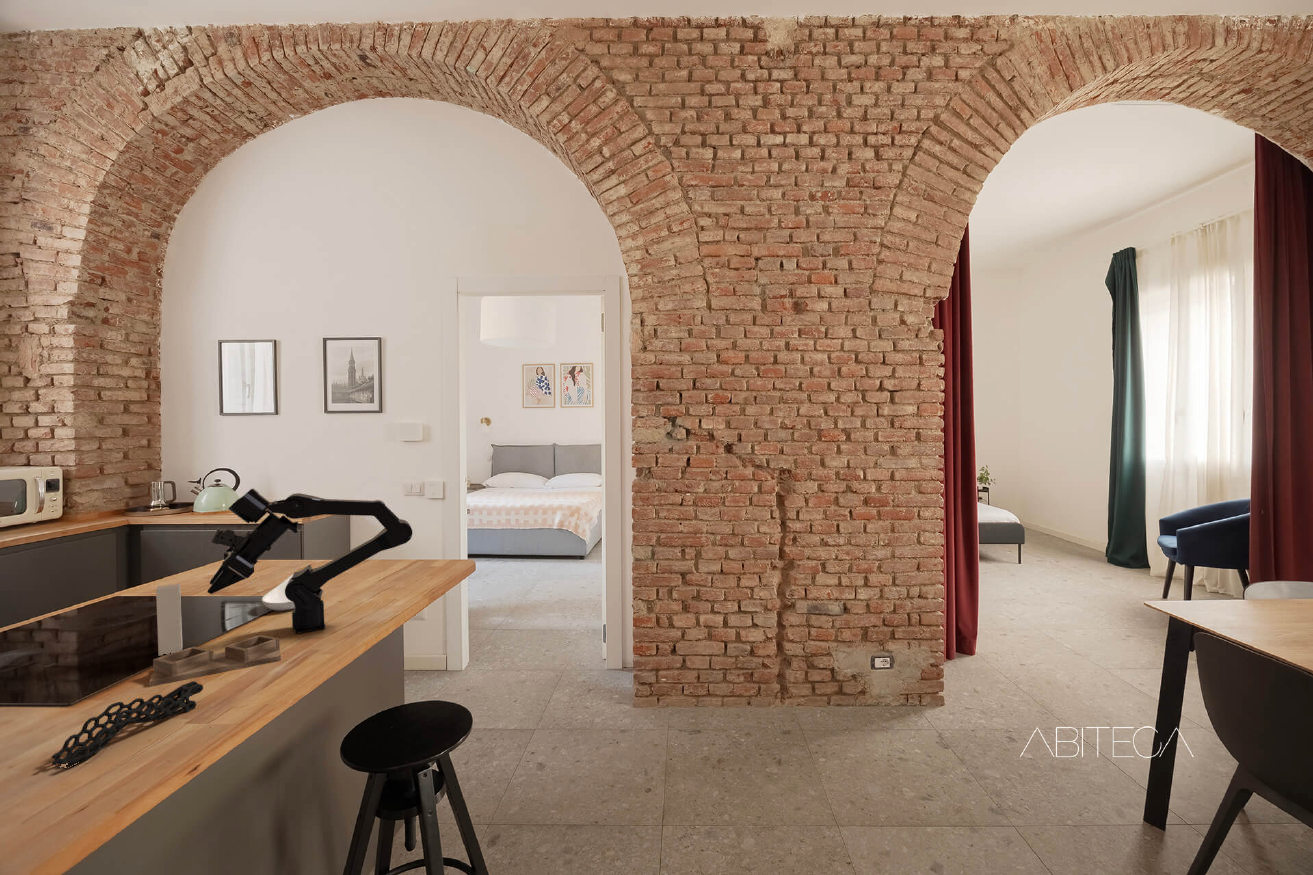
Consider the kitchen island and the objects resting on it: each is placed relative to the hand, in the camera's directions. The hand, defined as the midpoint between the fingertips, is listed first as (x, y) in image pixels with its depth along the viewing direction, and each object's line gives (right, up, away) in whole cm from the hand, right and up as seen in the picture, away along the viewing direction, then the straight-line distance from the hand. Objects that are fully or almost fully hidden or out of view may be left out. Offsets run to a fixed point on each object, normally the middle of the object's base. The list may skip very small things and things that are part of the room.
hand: (210, 588), depth 141 cm
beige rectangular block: (-6, -13, -4) cm, 15 cm away
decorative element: (+17, -15, -40) cm, 46 cm away
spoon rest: (-1, -13, +34) cm, 36 cm away
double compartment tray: (+11, -13, -12) cm, 21 cm away
